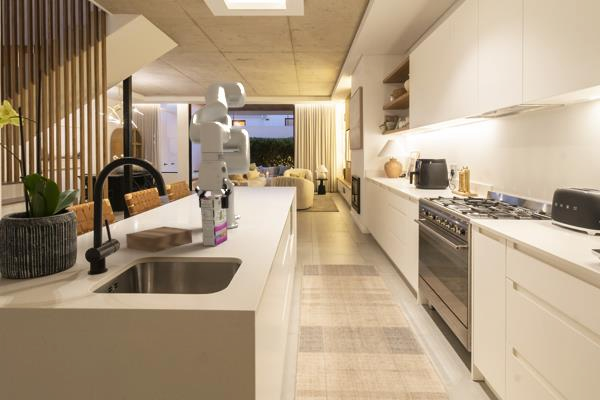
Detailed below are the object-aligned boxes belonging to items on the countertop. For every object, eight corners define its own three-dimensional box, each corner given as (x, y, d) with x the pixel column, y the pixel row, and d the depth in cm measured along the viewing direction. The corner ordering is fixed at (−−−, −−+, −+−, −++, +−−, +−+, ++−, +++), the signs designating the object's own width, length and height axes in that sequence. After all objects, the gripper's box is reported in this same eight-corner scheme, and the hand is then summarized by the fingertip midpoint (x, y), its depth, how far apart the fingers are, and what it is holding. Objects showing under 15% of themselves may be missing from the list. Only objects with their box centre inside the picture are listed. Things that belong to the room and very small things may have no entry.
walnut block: (164, 239, 153) (163, 226, 152) (192, 243, 145) (191, 229, 145) (127, 248, 139) (126, 234, 138) (155, 253, 132) (154, 238, 131)
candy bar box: (215, 239, 151) (213, 194, 149) (227, 239, 150) (226, 194, 148) (201, 246, 140) (199, 198, 138) (215, 246, 139) (213, 198, 137)
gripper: (239, 157, 140) (240, 207, 142) (200, 158, 148) (201, 205, 150) (225, 157, 134) (227, 210, 135) (185, 158, 142) (187, 208, 143)
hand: (213, 207), depth 143 cm, fingers open, 9 cm apart
